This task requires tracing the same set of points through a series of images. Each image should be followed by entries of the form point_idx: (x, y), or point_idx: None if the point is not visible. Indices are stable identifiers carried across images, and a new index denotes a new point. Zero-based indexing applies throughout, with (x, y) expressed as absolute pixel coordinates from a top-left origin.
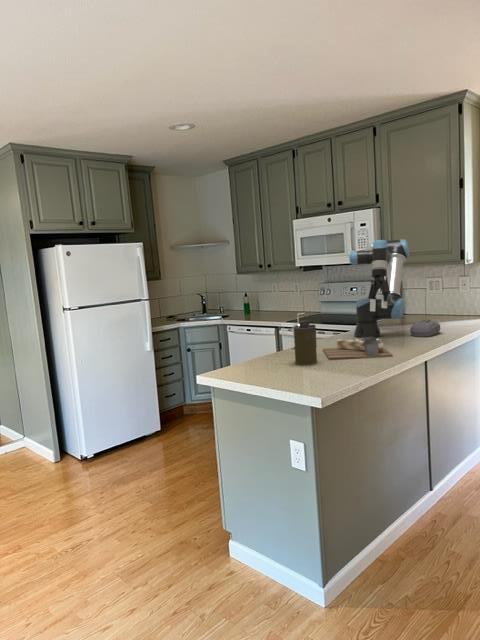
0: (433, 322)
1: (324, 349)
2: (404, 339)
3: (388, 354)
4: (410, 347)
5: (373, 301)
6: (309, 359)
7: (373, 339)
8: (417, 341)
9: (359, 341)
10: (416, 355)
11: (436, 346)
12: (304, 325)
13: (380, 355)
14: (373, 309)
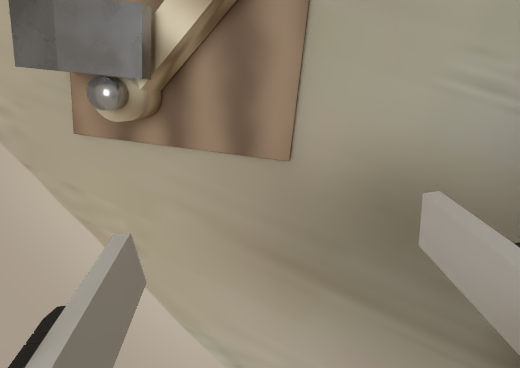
0: None
1: None
2: (435, 338)
3: (77, 117)
4: (235, 272)
5: (507, 307)
6: None
7: (52, 52)
8: (354, 356)
9: (186, 5)
10: (83, 221)
11: (219, 357)
12: None
13: (71, 79)
14: (432, 236)
